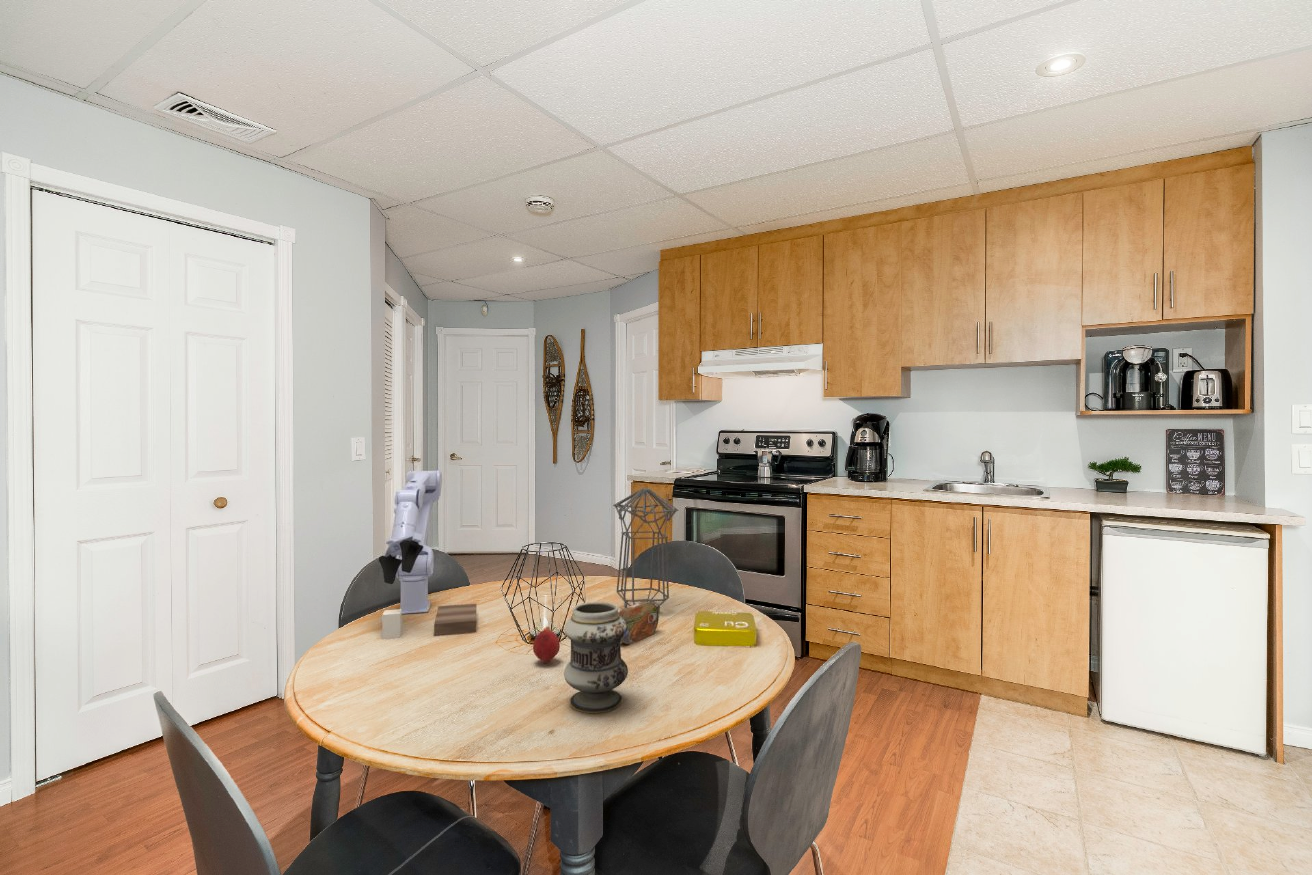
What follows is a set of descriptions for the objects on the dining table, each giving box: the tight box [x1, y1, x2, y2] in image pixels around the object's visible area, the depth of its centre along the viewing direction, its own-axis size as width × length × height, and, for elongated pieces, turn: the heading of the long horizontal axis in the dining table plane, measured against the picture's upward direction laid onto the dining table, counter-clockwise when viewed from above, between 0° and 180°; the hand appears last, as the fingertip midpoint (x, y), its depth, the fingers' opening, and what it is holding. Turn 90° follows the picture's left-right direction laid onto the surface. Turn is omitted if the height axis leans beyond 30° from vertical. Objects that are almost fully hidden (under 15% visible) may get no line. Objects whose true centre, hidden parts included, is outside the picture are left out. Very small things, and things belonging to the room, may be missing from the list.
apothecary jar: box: [563, 601, 629, 714], centre depth 116 cm, size 12×12×18 cm
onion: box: [532, 625, 561, 664], centre depth 135 cm, size 6×6×8 cm
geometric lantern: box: [612, 487, 679, 613], centre depth 174 cm, size 16×16×35 cm
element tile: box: [693, 610, 757, 647], centre depth 153 cm, size 15×15×5 cm
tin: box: [618, 601, 660, 645], centre depth 151 cm, size 15×3×8 cm, turn 143°
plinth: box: [433, 603, 477, 637], centre depth 161 cm, size 16×10×3 cm, turn 16°
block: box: [381, 609, 403, 640], centre depth 152 cm, size 4×4×6 cm
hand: (397, 577), depth 152 cm, fingers open, 7 cm apart
